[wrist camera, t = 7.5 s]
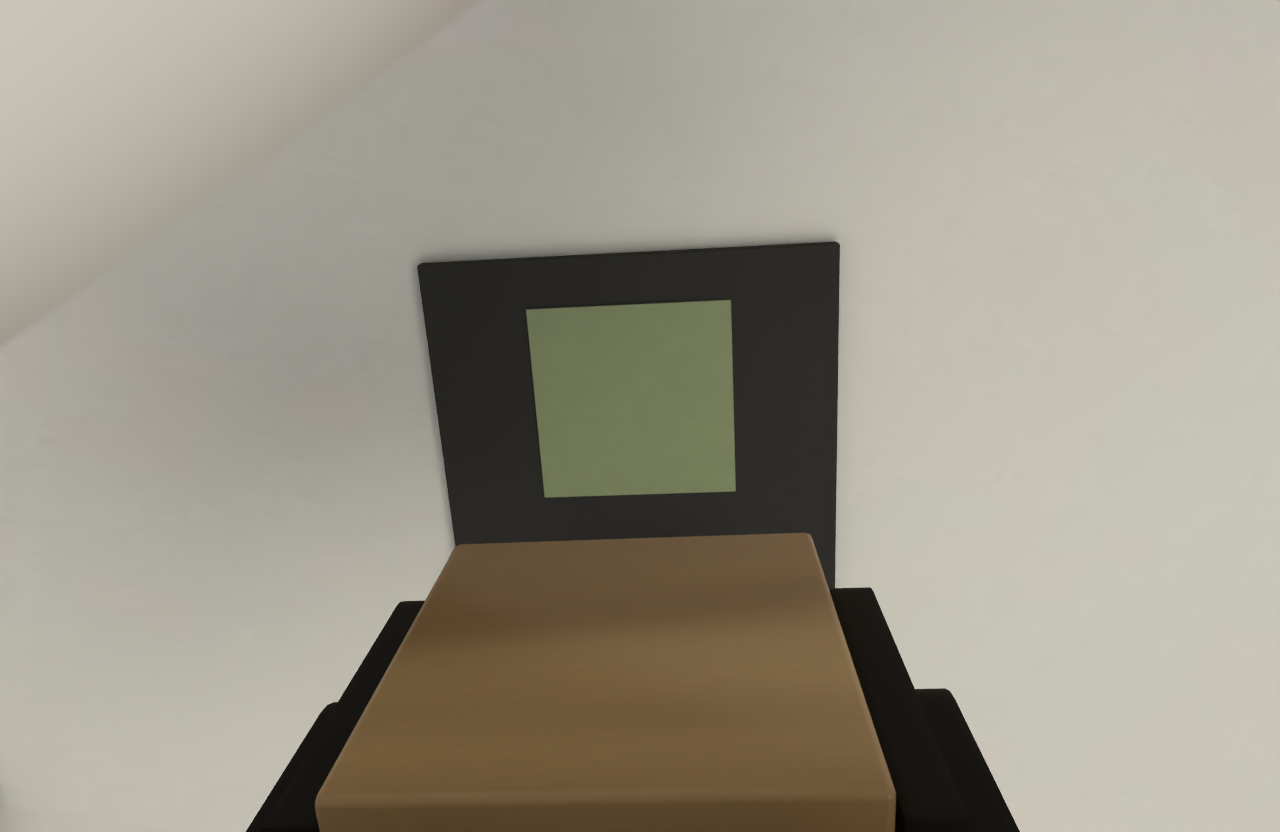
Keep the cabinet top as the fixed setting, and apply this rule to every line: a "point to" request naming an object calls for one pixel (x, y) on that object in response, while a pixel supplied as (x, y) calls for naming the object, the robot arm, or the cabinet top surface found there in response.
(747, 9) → the cabinet top surface
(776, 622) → the letter u block
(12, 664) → the cabinet top surface
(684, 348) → the word mat
